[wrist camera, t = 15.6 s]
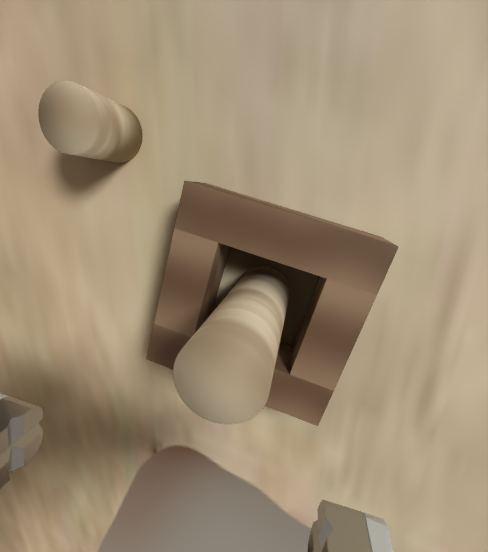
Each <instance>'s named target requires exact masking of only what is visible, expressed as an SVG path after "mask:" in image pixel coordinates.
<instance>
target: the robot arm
mask: <svg viewBox="0 0 488 552" xmlns="http://www.w3.org/2000/svg"><path fill="white" fill-rule="evenodd" d="M42 419H43V409H42V408H40V407H38V406H36V405H33V404H30V403H27V402H25V401H22V400H19V399H16V398H14V397H11V396H8V395H5V394H2V393H0V488H2V487H3V486H4V485H5V484H6V483H7V482H8V481H9V480H10V476H11V473H12V471H13V470H16V469H18V468H20V467H23V466H25V465H26V464H27V463H28V462H29V461H30V460H31V459H32V458H33V457H34V455H35V454H36V452H37V450H38V449H39V447H40V446H41V442H42V439H43V429H42V428H41V426H40V424H39V422H40V421H41V420H42ZM308 552H394V551H393V547H392V543H391V539H390V536H389V532H388V528H387V524H386V522H385V521H384V519H381V518H378V517H375V516H372V515H369V514H366V513H362V512H361V511H357V510H354V509H351V508H348V507H345V506H342V505H338V504H335V503H332V502H329V501H326V500H322V501H321V502H320V505H319V507H318V520H317V521H315V522H313V525H312V528H311V531H310V536H309V542H308Z"/></svg>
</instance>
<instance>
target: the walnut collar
mask: <svg viewBox="0 0 488 552" xmlns="http://www.w3.org/2000/svg"><path fill="white" fill-rule="evenodd" d="M230 247H233V248H236V249H239V250H242V251H245V252H248V253H251V254H254V255H257V256H260V257H263V258H266V259H269V260H272V261H275V262H278V263H281V264H284V265H287V266H290V267H293V268H296V269H299V270H302V271H305V272H308V273H311V274H314V275H317V276H320V277H319V279H318V282H317V285H316V287H315V290H314V293H313V295H312V298H311V300H310V303H309V306H308V308H307V311H306V314H305V316H304V319H303V321H302V324H301V327H300V329H299V332H298V335H297V337H296V340H295V343H294V345H293V346H290V345H288V344H285V343H282V342H280V344H279V349H278V354H277V359H276V363H275V368H274V373H273V378H272V383H271V388H270V392H269V396H268V400H267V402H266V404H265V406H268V407H270V408H273V409H275V410H278V411H280V412H283V413H286V414H288V415H291V416H293V417H296V418H298V419H301V420H303V421H306V422H309V423H311V424H314V425H316V426H318V425H319V422H320V420H321V418H322V416H323V413H324V411H325V409H326V407H327V405H328V402H329V400H330V398H331V396H332V394H333V391H334V389H335V387H336V385H337V382H338V380H339V378H340V376H341V374H342V371H343V369H344V367H345V365H346V362H347V360H348V358H349V356H350V354H351V351H352V349H353V347H354V345H355V342H356V340H357V338H358V336H359V334H360V331H361V329H362V327H363V325H364V322H365V320H366V318H367V316H368V314H369V311H370V309H371V307H372V305H373V302H374V300H375V298H376V296H377V294H378V291H379V289H380V287H381V285H382V283H383V280H384V278H385V276H386V274H387V271H388V269H389V267H390V265H391V263H392V260H393V258H394V256H395V254H396V251H397V249H398V246H396V245H394V244H393V243H391V242H389V241H388V240H386V239H384V238H382V237H379V236H376V235H373V234H369V233H366V232H363V231H360V230H356V229H353V228H350V227H347V226H343V225H340V224H337V223H334V222H330V221H327V220H324V219H321V218H317V217H314V216H311V215H308V214H304V213H301V212H298V211H295V210H291V209H288V208H285V207H282V206H278V205H275V204H272V203H269V202H265V201H262V200H259V199H256V198H252V197H249V196H246V195H243V194H239V193H236V192H233V191H230V190H226V189H223V188H220V187H217V186H213V185H210V184H207V183H200V182H191V181H184V185H183V190H182V195H181V199H180V204H179V209H178V213H177V218H176V223H175V227H174V232H173V237H172V241H171V246H170V251H169V255H168V260H167V265H166V269H165V274H164V279H163V283H162V288H161V293H160V297H159V302H158V307H157V312H156V316H155V321H154V326H153V330H152V335H151V340H150V344H149V349H148V354H147V358H146V359H148V360H150V361H153V362H155V363H158V364H160V365H163V366H165V367H168V368H171V369H173V368H174V363H175V360H176V357H177V355H178V354H179V352H180V351H181V349H182V348H183V347H184V346H185V345H186V343H187V342H188V341H189V340H190V339H191V337H192V336H193V335H194V334H195V333H196V331H197V330H198V329H199V328H200V327H201V325H202V324H203V323H204V322H205V321H206V319H207V318H208V317H209V316H210V315H211V313H212V311H213V307H214V303H215V300H216V296H217V292H218V289H219V285H220V282H221V278H222V274H223V271H224V267H225V263H226V260H227V256H228V253H229V249H230Z"/></svg>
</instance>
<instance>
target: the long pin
mask: <svg viewBox="0 0 488 552" xmlns="http://www.w3.org/2000/svg"><path fill="white" fill-rule="evenodd" d="M289 295H290V290H289V285H288V282H287V280H286V279H285V277H284V276H283V275H282V274H281V273H280V272H278V271H277V270H275V269H273V268H270V267H262V266H261V267H256V268H253V269H251V270H249V271H248V272H246V273H245V274H244V275H243V276H242V278H241V279H240V280H239V281H238V282H237V284H236V285H235V286H234V287H233V288H232V290H231V291H230V292H229V293H228V294H227V296H226V297H225V298H224V299H223V300H222V302H221V303H220V304H219V305H218V306H217V308H216V309H215V310H214V311H213V312H212V313H211V315H210V316H209V317H208V318H207V319H206V321H205V322H204V323H203V324H202V325H201V327H200V328H199V329H198V330H197V331H196V333H195V334H194V335H193V336H192V337H191V339H190V340H189V341H188V342H187V343H186V345H185V346H184V347H183V348H182V349H181V351H180V352H179V354H178V355H177V357H176V360H175V363H174V368H173V377H174V383H175V387H176V389H177V392H178V394H179V396H180V397H181V399H182V400H183V401H184V403H185V404H186V405H187V406H188V407H189V408H190V409H191V410H192V411H193V412H195V413H196V414H198V415H199V416H201V417H203V418H205V419H207V420H209V421H212V422H216V423H220V424H238V423H242V422H245V421H248V420H250V419H251V418H253V417H255V416H256V415H257V414H258V413H259V412H260V411H261V410H262V409H263V407H264V406H265V404H266V402H267V400H268V396H269V392H270V388H271V383H272V378H273V373H274V368H275V363H276V359H277V354H278V349H279V344H280V339H281V335H282V330H283V325H284V320H285V315H286V311H287V306H288V301H289Z"/></svg>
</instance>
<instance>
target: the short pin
mask: <svg viewBox="0 0 488 552" xmlns="http://www.w3.org/2000/svg"><path fill="white" fill-rule="evenodd" d="M39 122H40V126H41V129H42V132H43V134H44V136H45V138H46V139H47V141H48V142H49V143H50V144H51V145H52V146H53V147H54V148H55V149H56V150H58V151H60V152H62V153H65V154H69V155H75V156H81V157H87V158H93V159H99V160H104V161H110V162H116V163H124V162H127V161H129V160H131V159H132V158H134V157H135V156H136V154H137V153H138V151H139V149H140V147H141V144H142V129H141V125H140V122H139V120H138V118H137V117H136V115H135V114H134V113H133V112H132V111H131V110H130V109H128V108H127V107H125V106H123V105H121V104H118V103H116V102H114V101H112V100H110V99H108V98H106V97H104V96H102V95H100V94H98V93H96V92H93V91H91V90H89V89H87V88H85V87H83V86H81V85H79V84H77V83H75V82H72V81H67V80H62V81H58V82H55V83H53V84H51V85H50V86H49V87H48V88H47V89H46V90H45V92H44V93H43V95H42V97H41V100H40V104H39Z"/></svg>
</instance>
